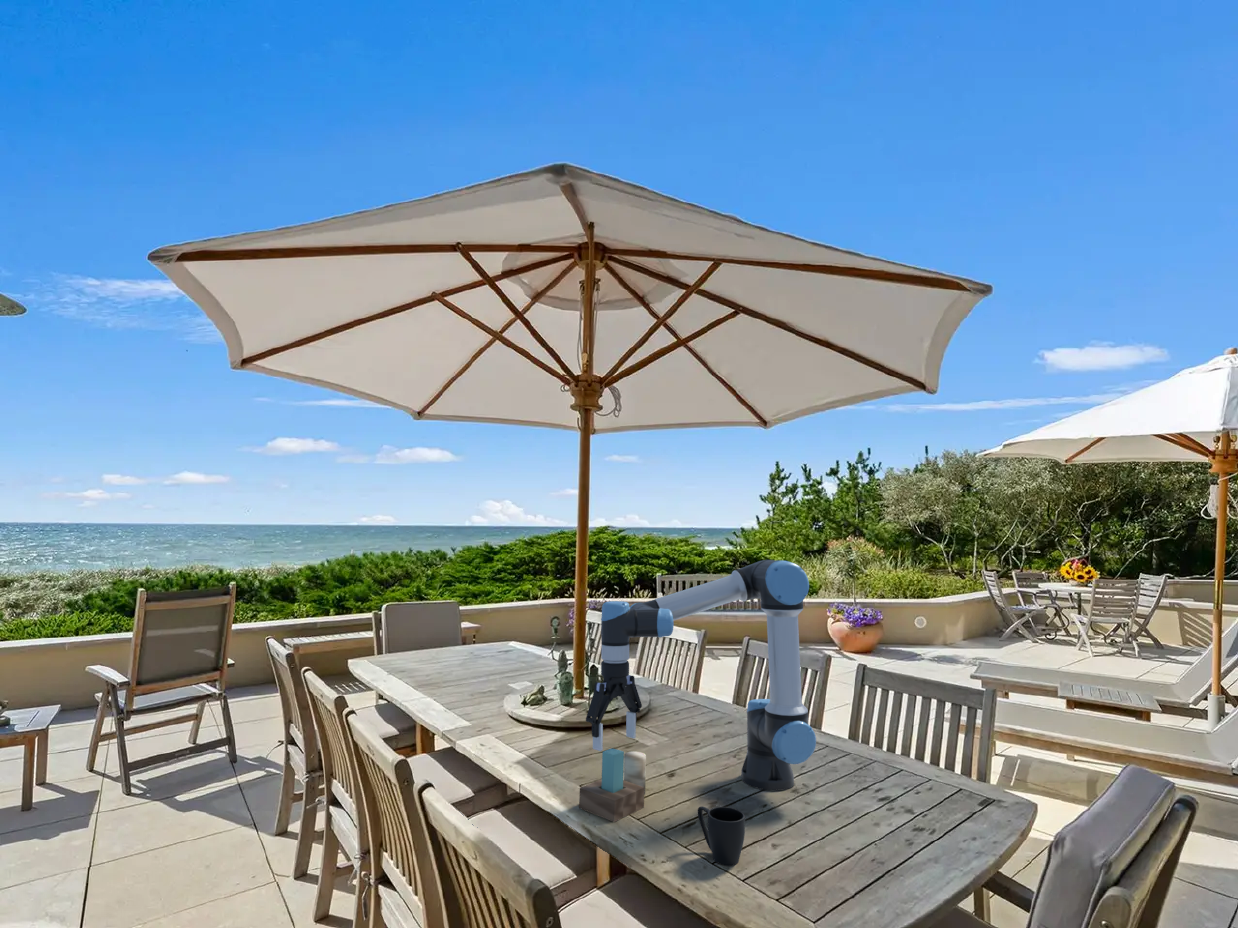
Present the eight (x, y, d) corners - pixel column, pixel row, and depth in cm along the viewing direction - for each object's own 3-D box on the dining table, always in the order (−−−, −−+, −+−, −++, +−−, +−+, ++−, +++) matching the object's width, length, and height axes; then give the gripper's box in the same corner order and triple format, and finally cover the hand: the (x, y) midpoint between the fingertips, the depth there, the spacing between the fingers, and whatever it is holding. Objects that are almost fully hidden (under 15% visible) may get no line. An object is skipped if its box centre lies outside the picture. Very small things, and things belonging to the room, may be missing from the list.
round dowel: (632, 786, 181) (633, 749, 182) (649, 792, 177) (650, 754, 178) (619, 792, 176) (620, 754, 177) (636, 798, 172) (636, 760, 174)
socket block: (609, 794, 175) (609, 775, 175) (643, 807, 167) (644, 787, 168) (579, 807, 166) (579, 787, 166) (614, 821, 158) (614, 800, 158)
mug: (711, 840, 149) (712, 797, 150) (752, 861, 140) (752, 815, 141) (687, 850, 144) (687, 806, 145) (727, 872, 135) (728, 825, 136)
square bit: (611, 803, 169) (612, 747, 171) (622, 807, 167) (623, 751, 168) (601, 807, 166) (602, 751, 168) (612, 812, 164) (614, 755, 165)
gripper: (633, 652, 183) (633, 729, 180) (572, 665, 164) (571, 751, 161) (654, 655, 178) (654, 734, 175) (594, 669, 159) (593, 758, 156)
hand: (614, 743), depth 168 cm, fingers open, 13 cm apart
